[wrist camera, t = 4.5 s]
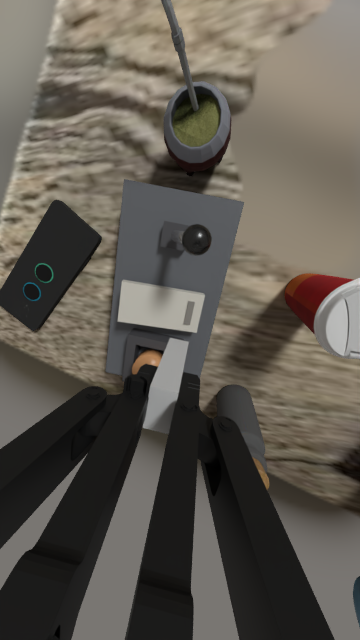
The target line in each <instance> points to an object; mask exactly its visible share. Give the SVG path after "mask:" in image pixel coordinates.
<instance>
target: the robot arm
mask: <svg viewBox="0 0 360 640" xmlns="http://www.w3.org/2000/svg"><path fill="white" fill-rule="evenodd" d="M188 344H189V342H187V341H183V340H178V339H174V338H170V339H169V341H168V344H167V346H166V349H165V351H164V354H163V356H162V359H161V361H160V363H159V366H153V365H149V364H144V365H143V366H141V367H140V369H139V370H138V372H137V374H132V375H129V376H127V377H126V378H125V382H124V389H123V393H122V394H118V395H107V392H106V391H105V390H104V389H103V388H101V387H97V386H92V387H87V388H85V389H83V390H82V391H80V392H79V393H77V394H76V395H75V396H73V397H72V398H71V399H69V400H68V401H66V402H65V403H64V404H62V405H61V406H60V407H58V408H57V409H55V410H54V411H53V412H51V413H50V414H49V415H47V416H46V417H44V418H43V419H42V420H40V421H39V422H37V423H36V424H35V425H33V426H32V427H30V428H29V429H28V430H26V431H25V432H24V433H22V434H21V435H19V436H18V437H17V438H15V439H14V440H13V441H11V442H10V443H8V444H7V445H6V446H4V447H3V448H1V449H0V549H1V547H2V546H3V545H4V544H5V543H6V542H7V541H8V540H9V539H10V538H11V537H12V535H13V534H14V533H15V532H16V531H17V530H18V529H19V528H20V527H21V526H22V524H23V523H24V522H25V521H26V520H27V519H28V518H29V517H30V516H31V515H32V513H33V512H34V511H35V510H36V509H37V508H38V507H39V506H40V505H41V504H42V503H43V501H44V500H45V499H46V498H47V497H48V496H49V495H50V494H51V493H52V492H53V490H54V489H55V488H56V487H57V486H58V485H59V484H60V483H61V482H62V481H63V480H64V478H65V477H66V476H67V475H68V474H69V473H70V472H71V471H72V470H73V469H74V467H75V466H76V465H77V464H78V463H79V462H80V461H81V460H82V459H83V458H84V457H85V455H86V454H87V453H88V454H87V456H86V458H85V459H84V461H83V463H82V465H81V466H80V468H79V470H78V472H77V473H76V475H75V477H74V479H73V480H72V482H71V484H70V486H69V487H68V489H67V491H66V493H65V494H64V496H63V498H62V500H61V501H60V503H59V505H58V507H57V509H56V510H55V512H54V514H53V515H52V517H51V519H50V521H49V523H48V524H47V526H46V528H45V529H44V531H43V533H42V535H41V537H40V539H39V540H38V542H37V543H36V545H35V546H34V547H33V549H31V550H29V551H27V552H25V553H24V555H23V556H22V557H21V558H20V559H19V561H18V562H17V564H16V565H15V567H14V568H13V570H12V572H11V573H10V575H9V577H8V578H7V580H6V582H5V584H4V585H3V587H2V588H1V590H0V640H71V638H72V635H73V631H74V627H75V624H76V620H77V616H78V613H79V610H80V607H81V604H82V601H83V598H84V596H85V593H86V590H87V587H88V584H89V581H90V578H91V576H92V573H93V570H94V567H95V564H96V561H97V558H98V555H99V553H100V550H101V547H102V544H103V541H104V538H105V536H106V533H107V530H108V527H109V524H110V521H111V518H112V516H113V513H114V510H115V507H116V504H117V501H118V498H119V495H120V493H121V490H122V487H123V484H124V481H125V478H126V475H127V473H128V470H129V467H130V464H131V461H132V458H133V456H134V453H135V449H136V447H137V444H138V441H139V438H140V435H141V430H142V426H143V428H146V429H150V430H154V431H158V432H162V433H166V434H169V435H168V439H167V444H166V448H165V454H164V458H163V463H162V468H161V472H160V477H159V482H158V486H157V491H156V496H155V501H154V505H153V510H152V515H151V520H150V524H149V529H148V533H147V538H146V543H145V547H144V552H143V557H142V562H141V566H140V571H139V576H138V580H137V585H136V590H135V595H134V599H133V604H132V609H131V613H130V618H129V623H128V628H127V632H126V637H125V640H192V638H193V637H192V636H193V597H192V594H191V570H192V551H193V533H194V514H195V495H196V477H197V459H199V460H201V466H202V470H203V475H204V480H205V484H206V489H207V493H208V498H209V503H210V507H211V512H212V516H213V521H214V525H215V530H216V535H217V539H218V544H219V548H220V553H221V558H222V562H223V566H224V571H225V576H226V580H227V585H228V590H229V594H230V599H231V603H232V608H233V612H234V617H235V621H236V626H237V631H238V635H239V640H334V637H333V635H332V633H331V631H330V629H329V626H328V624H327V622H326V620H325V618H324V615H323V613H322V611H321V608H320V606H319V604H318V602H317V600H316V597H315V595H314V593H313V591H312V589H311V586H310V584H309V582H308V580H307V577H306V575H305V573H304V571H303V569H302V566H301V564H300V562H299V560H298V558H297V555H296V553H295V551H294V549H293V546H292V544H291V542H290V540H289V538H288V535H287V533H286V531H285V529H284V527H283V524H282V522H281V520H280V518H279V515H278V513H277V511H276V509H275V507H274V504H273V502H272V500H271V498H270V496H269V493H268V491H267V489H266V487H265V484H264V482H263V480H262V478H261V476H260V473H259V471H258V469H257V467H256V465H255V462H254V460H253V458H252V456H251V453H250V451H249V449H248V447H247V445H246V442H245V440H244V438H243V436H242V434H241V431H240V429H239V427H238V425H237V424H236V422H234V421H233V420H232V419H230V418H228V417H225V416H217V417H215V418H214V420H213V419H211V418H209V417H207V416H206V415H204V414H203V413H202V412H201V410H200V407H199V392H200V379H199V377H198V375H195V374H190V373H186V372H183V369H184V364H185V359H186V354H187V349H188ZM353 599H354V606H355V611H356V615H357V619H358V623H359V627H360V576H359V577H358V578H357V579H356V580H355V583H354V590H353Z"/></svg>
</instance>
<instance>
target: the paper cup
mask: <svg viewBox="0 0 360 640" xmlns="http://www.w3.org/2000/svg"><path fill="white" fill-rule="evenodd" d="M285 301H286V303H287V305H288V306H289V307H290V308H291V310H292V311H293V312H294V313H295V314H296V315H297V316H298V317H299V318H300V319H301V320H302V321H303V323H304V324H305V325H306V326H307V327H308V328H309V329H310V330H311V331H312V332H313V333H314V334H315V336H316V339H317V341H318V342H319V344H320V345H321V346H322V347H323V348H324V349H325V350H326V351H327V352H329V353H331V354H333V355H335V356H338V357H341V358H348V359H360V278H357V279H355V280H353V279H346V278H340V277H333V276H326V275H319V274H302V275H299V276H297V277H295V278H294V279H292V280H291V281H290V282H289V284H288V285H287V287H286V289H285Z"/></svg>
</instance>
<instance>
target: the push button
mask: <svg viewBox="0 0 360 640" xmlns="http://www.w3.org/2000/svg"><path fill="white" fill-rule="evenodd" d="M162 356H163V355H162V354H161V353H160V352H159V351H156V350H153V349H148V350H144V351H143V352H141V353H140V354H139V356H138V358H137V359H136V361H135V363H134V364H133V366H132V374H137V372H138V370H139V369H140V367H141V366H143V365H144V364H149V365H153V366H159V363H160V361H161V359H162Z"/></svg>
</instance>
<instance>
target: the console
mask: <svg viewBox="0 0 360 640" xmlns="http://www.w3.org/2000/svg"><path fill="white" fill-rule="evenodd" d="M243 205H244V202H241V201H236V200H231V199H225V198H220V197H215V196H210V195H204V194H199V193H194V192H189V191H183V190H178V189H173V188H168V187H162V186H157V185H152V184H147V183H141V182H136V181H131V180H126V179H124V185H123V196H122V206H121V216H120V227H119V237H118V248H117V258H116V269H115V279H114V289H113V300H112V310H111V321H110V331H109V341H108V352H107V362H106V372H108V373H113V374H117V375H121V376H123V378H122V381H124V382H125V378H126V377H127V376H129V375H132V366H133V364H134V363H135V361H136V359H137V358H138V356H139V354H140V353H141V352H143V351H144V350H148V349H153V350H156V351H159V352H160V353H161V354H162V355H163V354H164V351H165V349H166V346H167V344H168V341H169V339H170V338H174V339H178V340H183V341H187V342H189V344H188V349H187V354H186V359H185V364H184V369H183V372H186V373H190V374H195V375H198V377H199V379H200V375H201V371H202V367H203V363H204V359H205V355H206V351H207V347H208V343H209V339H210V335H211V332H212V328H213V324H214V320H215V316H216V312H217V308H218V304H219V300H220V296H221V292H222V288H223V284H224V280H225V276H226V272H227V268H228V264H229V260H230V256H231V252H232V248H233V244H234V240H235V236H236V233H237V229H238V224H239V221H240V217H241V213H242V209H243ZM194 224H200V225H203V226H205V227H206V228H207V229H208V230H209V231H210V233H211V237H212V242H211V246H210V248H209V249H208V251H207V252H206V253H204V254H202V255H199V256H193V255H190V254H189V253H187V252H186V251H185V250H184V248H183V246H182V244H180V243H177V242H174V241H172V239H171V233H172V232H173V231H185V230H186V229H187V228H188V227H189V226H191V225H194ZM123 280H129V281H135V282H141V283H147V284H152V285H158V286H164V287H170V288H176V289H182V290H188V291H194V292H200V293H204V295H205V298H204V302H203V307H202V311H201V315H200V320H199V324H198V329H197V333H195V332H188V331H181V330H174V329H167V328H160V327H153V326H146V325H139V324H132V323H125V322H118V313H119V303H120V294H121V284H122V281H123Z"/></svg>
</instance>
